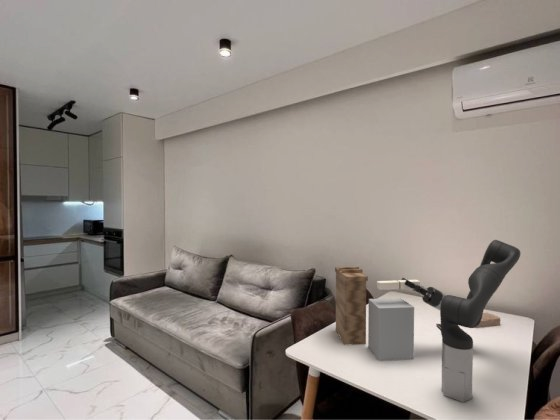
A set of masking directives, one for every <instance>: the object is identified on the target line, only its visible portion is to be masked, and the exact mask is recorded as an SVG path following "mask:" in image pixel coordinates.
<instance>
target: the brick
mask: <svg viewBox="0 0 560 420" xmlns="http://www.w3.org/2000/svg"><path fill="white" fill-rule="evenodd" d="M501 321H502V320H501V317H500V316H498V315H495V314H492V313H489V312H483V315H482V319H481V322H480V324H479V325H478V326H477V327H475V328H474V329H480V328H486V327H487V328H488V327H496V326H500V325H501Z"/></svg>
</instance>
